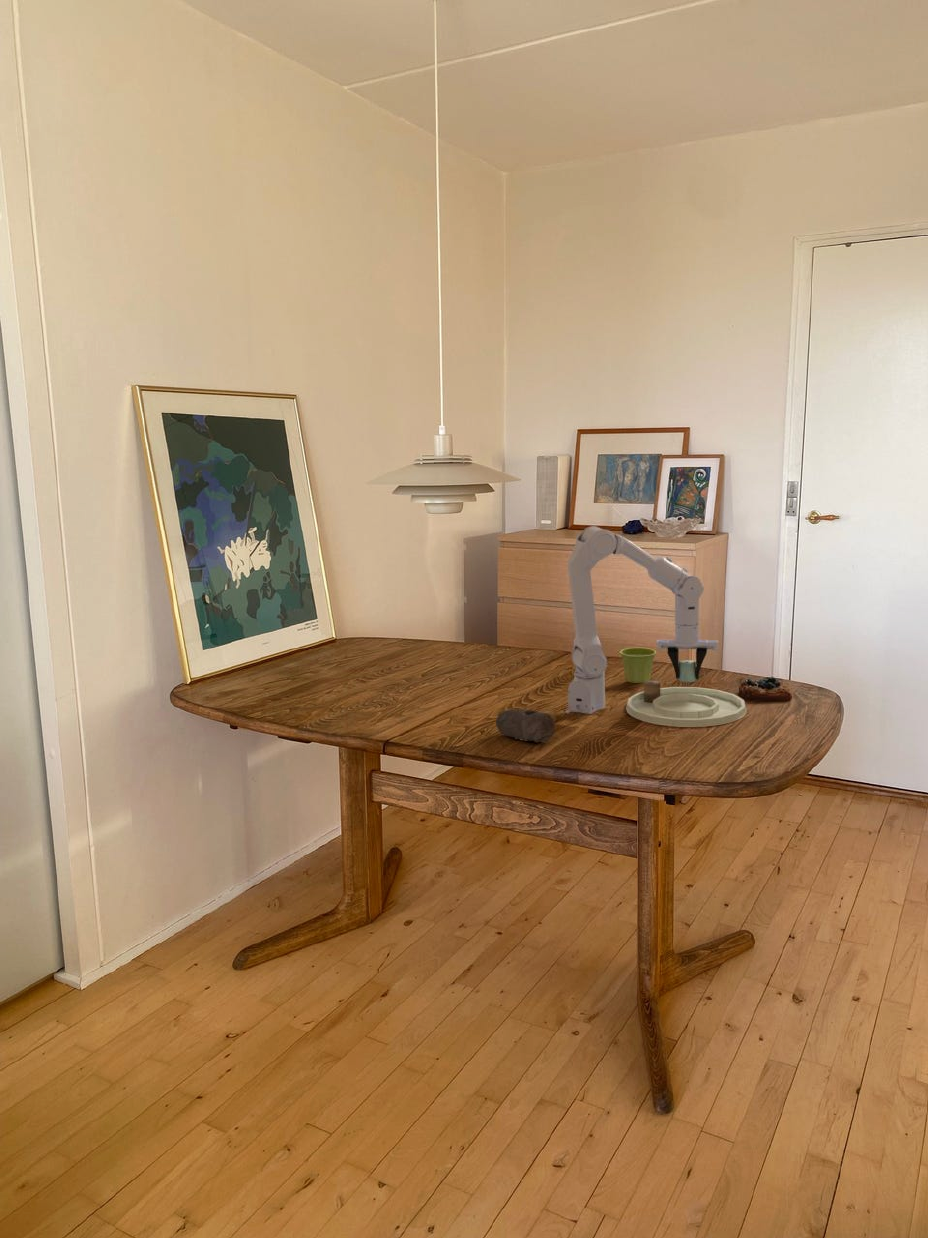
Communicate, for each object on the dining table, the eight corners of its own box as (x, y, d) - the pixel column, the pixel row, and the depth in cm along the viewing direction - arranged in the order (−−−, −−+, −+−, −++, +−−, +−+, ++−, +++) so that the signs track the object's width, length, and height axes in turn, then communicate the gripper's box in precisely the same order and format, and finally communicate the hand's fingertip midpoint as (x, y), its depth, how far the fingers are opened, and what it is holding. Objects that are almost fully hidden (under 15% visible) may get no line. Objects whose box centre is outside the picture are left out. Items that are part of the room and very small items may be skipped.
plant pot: (654, 678, 252) (654, 646, 250) (658, 687, 243) (657, 655, 241) (619, 679, 253) (618, 647, 252) (621, 688, 244) (621, 656, 242)
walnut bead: (656, 703, 226) (656, 685, 225) (641, 701, 228) (640, 683, 227) (663, 699, 229) (663, 681, 228) (648, 697, 231) (647, 679, 230)
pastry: (734, 695, 234) (734, 672, 233) (783, 693, 233) (783, 670, 232) (745, 707, 223) (745, 684, 222) (796, 706, 223) (796, 682, 221)
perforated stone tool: (489, 736, 211) (488, 706, 210) (504, 730, 215) (503, 701, 213) (542, 749, 201) (541, 718, 200) (557, 742, 205) (556, 712, 203)
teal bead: (696, 678, 231) (696, 660, 230) (695, 682, 227) (695, 664, 226) (679, 677, 232) (679, 659, 231) (678, 682, 228) (678, 663, 227)
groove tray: (721, 738, 202) (721, 726, 202) (606, 720, 218) (605, 710, 217) (762, 704, 224) (763, 694, 223) (655, 691, 240) (655, 681, 239)
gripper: (718, 620, 228) (718, 674, 231) (657, 619, 232) (658, 672, 235) (718, 626, 222) (717, 681, 224) (655, 625, 226) (656, 680, 228)
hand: (687, 677), depth 229 cm, fingers closed on teal bead, 4 cm apart
